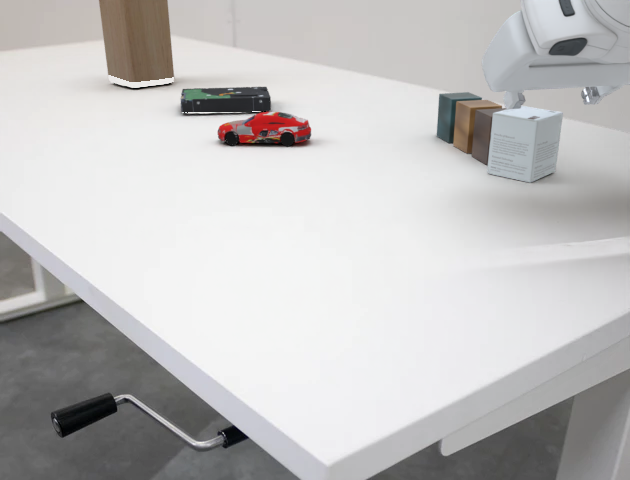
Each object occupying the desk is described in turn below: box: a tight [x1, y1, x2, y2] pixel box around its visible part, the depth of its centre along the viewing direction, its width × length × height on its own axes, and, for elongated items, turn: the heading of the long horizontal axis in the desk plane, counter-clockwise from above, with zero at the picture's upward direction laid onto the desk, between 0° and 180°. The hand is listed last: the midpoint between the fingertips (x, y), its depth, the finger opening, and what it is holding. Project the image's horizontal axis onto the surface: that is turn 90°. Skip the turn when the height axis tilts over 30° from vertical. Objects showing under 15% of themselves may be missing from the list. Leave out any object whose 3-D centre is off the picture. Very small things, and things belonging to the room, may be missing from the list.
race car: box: [217, 111, 312, 147], centre depth 106 cm, size 13×5×4 cm, turn 84°
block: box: [98, 0, 175, 82], centre depth 147 cm, size 10×10×20 cm
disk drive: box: [180, 86, 272, 113], centre depth 128 cm, size 10×3×15 cm
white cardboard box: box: [486, 105, 564, 184], centre depth 90 cm, size 6×6×7 cm
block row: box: [436, 91, 506, 166], centre depth 101 cm, size 16×4×6 cm, turn 14°
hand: (549, 101), depth 83 cm, fingers open, 8 cm apart
